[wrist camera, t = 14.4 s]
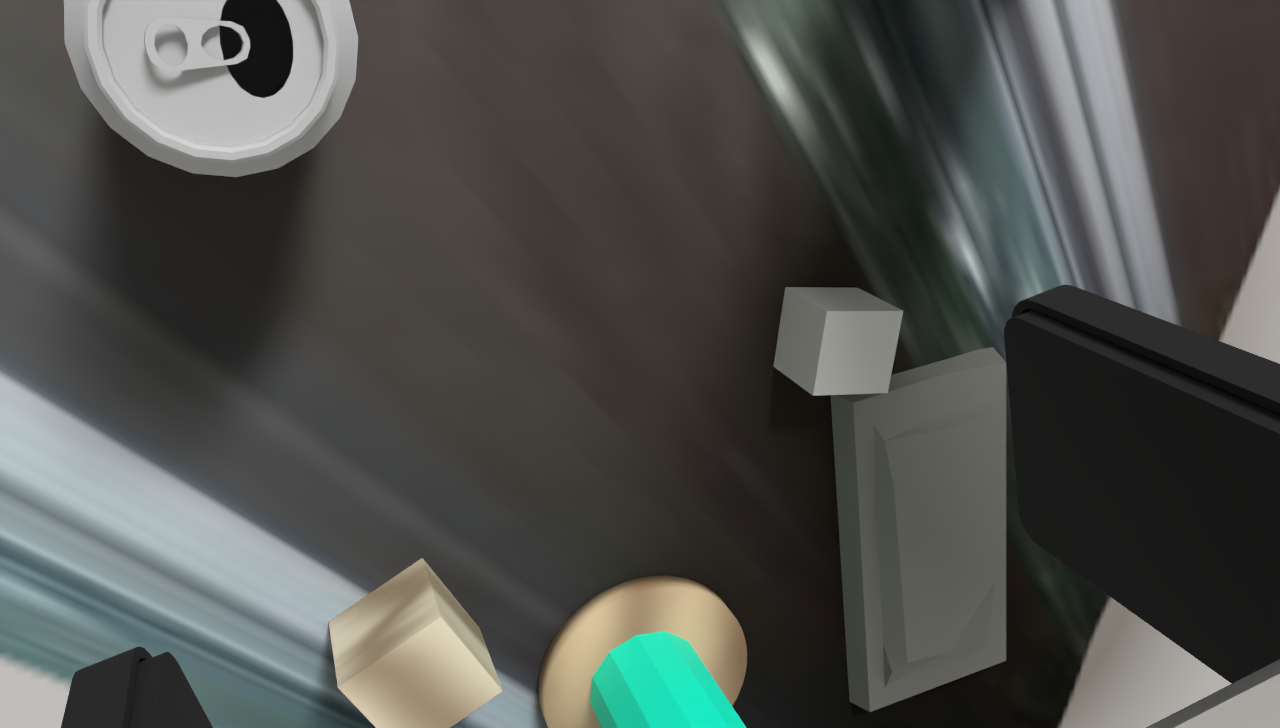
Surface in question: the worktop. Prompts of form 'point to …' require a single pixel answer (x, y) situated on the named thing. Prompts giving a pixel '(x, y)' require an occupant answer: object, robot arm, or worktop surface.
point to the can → (215, 76)
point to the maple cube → (412, 654)
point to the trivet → (625, 616)
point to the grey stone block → (837, 340)
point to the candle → (658, 687)
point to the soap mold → (923, 527)
